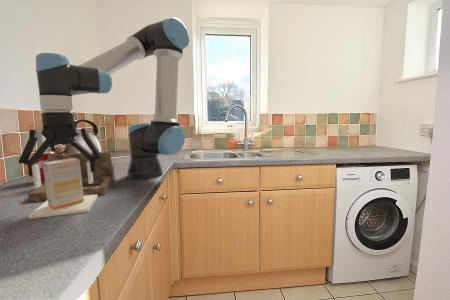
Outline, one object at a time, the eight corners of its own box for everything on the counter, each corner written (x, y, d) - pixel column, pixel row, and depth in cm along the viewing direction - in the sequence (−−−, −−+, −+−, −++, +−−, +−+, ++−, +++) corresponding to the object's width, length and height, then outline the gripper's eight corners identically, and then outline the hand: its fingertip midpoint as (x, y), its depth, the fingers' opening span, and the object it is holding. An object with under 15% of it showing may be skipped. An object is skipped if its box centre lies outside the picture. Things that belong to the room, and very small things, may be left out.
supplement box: (78, 198, 78) (74, 157, 76) (84, 201, 75) (80, 159, 73) (47, 206, 72) (42, 161, 70) (52, 209, 69) (47, 163, 67)
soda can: (36, 180, 104) (32, 152, 103) (56, 177, 110) (53, 150, 108) (40, 183, 99) (36, 154, 98) (61, 180, 105) (58, 152, 103)
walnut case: (115, 180, 104) (112, 151, 103) (107, 194, 85) (105, 159, 83) (52, 185, 97) (48, 154, 96) (29, 201, 78) (24, 164, 77)
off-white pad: (97, 196, 82) (97, 194, 82) (88, 211, 69) (88, 209, 69) (48, 201, 78) (48, 199, 78) (28, 218, 65) (28, 215, 65)
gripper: (107, 111, 77) (113, 178, 80) (11, 112, 70) (20, 185, 73) (103, 111, 70) (109, 184, 73) (-5, 111, 63) (6, 192, 66)
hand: (65, 185), depth 73 cm, fingers open, 13 cm apart
